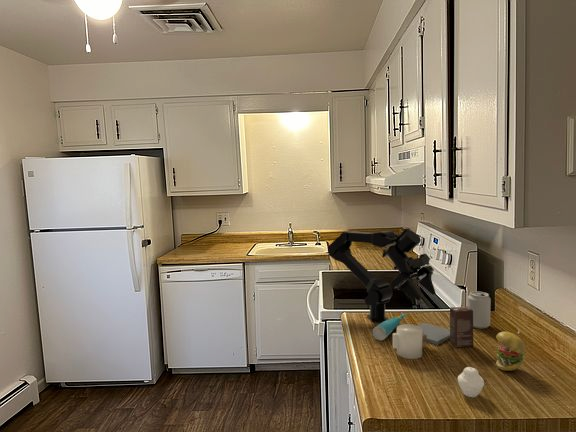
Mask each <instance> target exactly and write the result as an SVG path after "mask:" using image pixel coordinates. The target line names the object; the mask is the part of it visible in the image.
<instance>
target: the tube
mask: <svg viewBox="0 0 576 432" xmlns="http://www.w3.org/2000/svg"><path fill="white" fill-rule="evenodd" d="M406 316H407V313H405V314H404V313H403V314H401V315H397V316H393V317H391V318H388V320H386V321H381V323H379V324H377V325H376V326H375V327H373V329H372V335H373V337H374V338H375V340H377V341H384V340H386V338H388V337H389V335H390V334H391V333H392V332H393V331H395V329H396V328H397V326H399V325H400V323H401V322H402V321H403V320H404V318H405V317H406Z"/></svg>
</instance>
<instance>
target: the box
mask: <svg viewBox="0 0 576 432" xmlns="http://www.w3.org/2000/svg"><path fill="white" fill-rule="evenodd" d="M449 330H450V338H449V343H450V344H451V345H452V346H454V347H455V348H463V347H465V348H466V347H474V327H473V310H472V309H471V308H469V307H468V305H467V306H456V307H453V306H451V307H449Z"/></svg>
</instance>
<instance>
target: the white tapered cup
mask: <svg viewBox="0 0 576 432" xmlns="http://www.w3.org/2000/svg"><path fill="white" fill-rule="evenodd" d="M392 348H393V349H394V350H395V349H396V354H397V356H399V357H401V358H403V359H408V360H409V359H410V360H414V359H415V360H416V359H420V358H421V357H422V356H423V348H422V328H421V327H419V326H418V325H417V324H416V325H415V324H412V323H411V324H409V323H408V324H407V323H405V324H398V325H397V326H396V332H393V333H392Z"/></svg>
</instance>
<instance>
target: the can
mask: <svg viewBox="0 0 576 432" xmlns="http://www.w3.org/2000/svg"><path fill="white" fill-rule="evenodd" d="M491 302H492V299H491V297H490V295H489V293H487V292H483V291H479V290H478V291H477V290H476V291H470V292H469V295H468V296H467V307H469V308H471V309H472V310H473V329H474V328H475V329H480V330H482V329H487V328H488V327H489V326H491V306H492V304H491Z"/></svg>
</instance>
